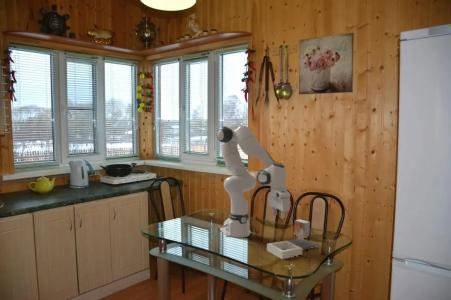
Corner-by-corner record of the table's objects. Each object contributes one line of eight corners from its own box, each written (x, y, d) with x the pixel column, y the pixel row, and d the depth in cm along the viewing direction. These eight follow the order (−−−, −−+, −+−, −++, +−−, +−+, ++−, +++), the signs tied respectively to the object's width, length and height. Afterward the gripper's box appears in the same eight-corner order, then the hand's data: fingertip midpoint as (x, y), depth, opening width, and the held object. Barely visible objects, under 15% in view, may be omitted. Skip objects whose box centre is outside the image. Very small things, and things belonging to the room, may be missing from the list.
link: (266, 250, 196) (267, 243, 196) (286, 247, 203) (286, 240, 202) (281, 259, 184) (282, 251, 183) (302, 255, 190) (302, 248, 190)
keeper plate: (284, 243, 209) (284, 230, 209) (301, 240, 216) (302, 228, 215) (299, 251, 197) (299, 237, 196) (317, 247, 204) (318, 234, 203)
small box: (293, 236, 225) (294, 220, 224) (299, 234, 228) (300, 219, 228) (303, 239, 219) (304, 223, 218) (309, 237, 222) (310, 221, 222)
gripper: (266, 190, 204) (266, 213, 205) (281, 195, 185) (281, 220, 185) (275, 189, 206) (275, 212, 207) (291, 194, 187) (291, 219, 187)
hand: (278, 216), depth 196 cm, fingers open, 8 cm apart
